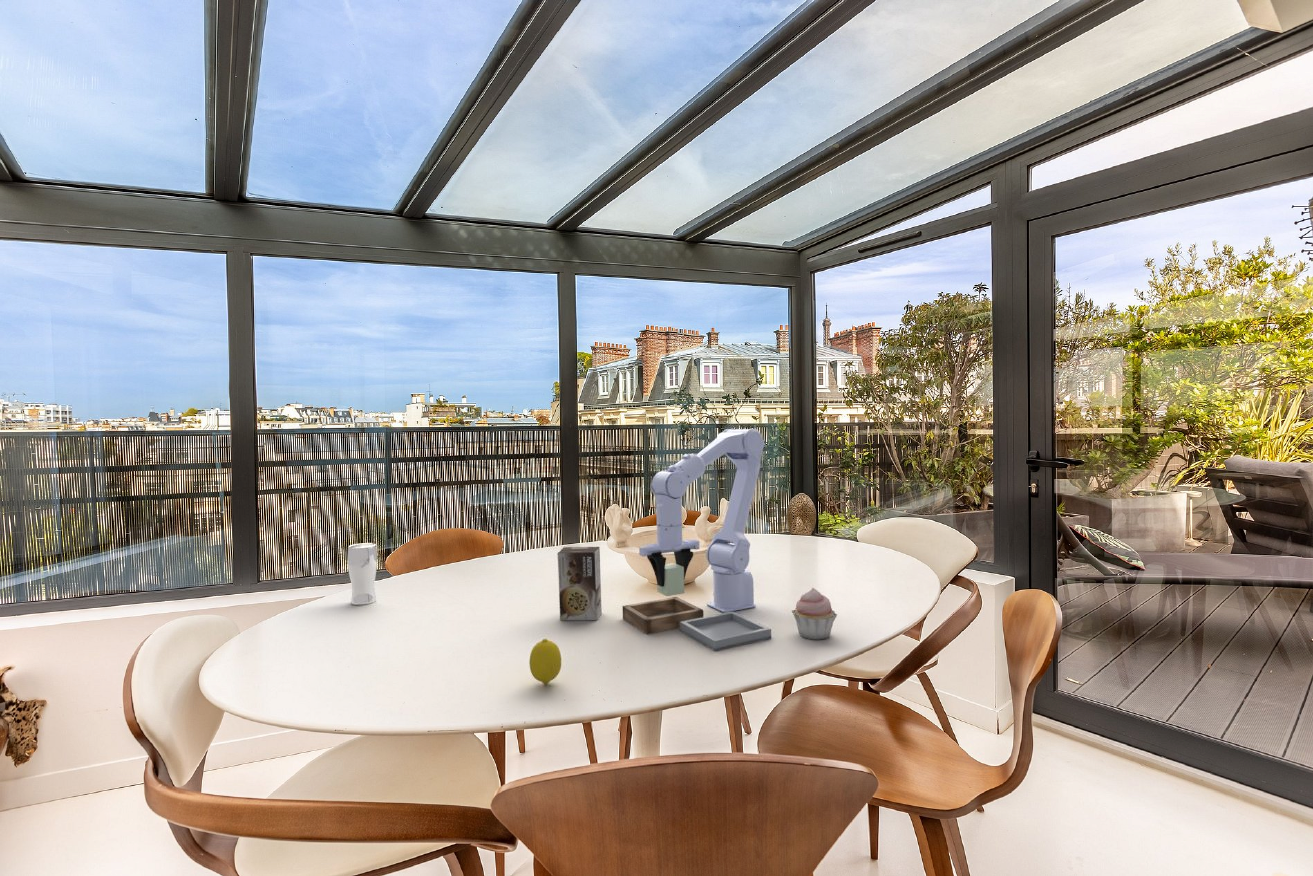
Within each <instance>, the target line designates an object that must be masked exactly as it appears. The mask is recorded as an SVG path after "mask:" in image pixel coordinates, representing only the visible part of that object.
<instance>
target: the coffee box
mask: <svg viewBox="0 0 1313 876" xmlns="http://www.w3.org/2000/svg"><path fill="white" fill-rule="evenodd" d="M600 551H601V550H600V546H566V547H565V546H563V548H561V549H560V551H558V552H557V555H556V556H557V569H558V570H557V571H558V592H559V593H558V595H559V597H558V598H559V601H558V602H559V621H597V620H598V619H599V618H600V616H601V614H602V613H603V612H602V584H601V583H602V582H601V557H600V556H601V555H600V554H601V553H600Z"/></svg>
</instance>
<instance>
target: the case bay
mask: <svg viewBox="0 0 1313 876" xmlns="http://www.w3.org/2000/svg"><path fill="white" fill-rule="evenodd" d="M673 612H674V613H673ZM667 613H668V614H667ZM659 614H664V615H659ZM655 615H657V616H655ZM648 616H651V617H648ZM652 616H653V617H652ZM701 617H704V609H702V608H701V607H699V606H696V605H695V604H692V603H690V602H688V601H685V600H684V599H682V598H679V597H677V596H674V597H673V596H672V597H668V598H667V597H666V598H661V599H656V600H655V599H654V600H650V601H644V602H639V603H638V602H637V603H632V604H627V605H622V619H623V620H624V621H626V622H628V623H629V624H631V625H632V626H633V627H635V628H636V629H638V630H640V631H641V632H643V633H644V634H646V635H649V634H654V633H659V632H663V631H664V632H665V631H669V630H674V629H680V622H681V621H686V620H691V619H696V618H701Z"/></svg>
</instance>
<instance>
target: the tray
mask: <svg viewBox="0 0 1313 876" xmlns="http://www.w3.org/2000/svg"><path fill="white" fill-rule="evenodd" d="M679 631H680V632H681V633H683V634H685V635H686V636H688V637H690V638H692V639H694V640H695V641H697V642H699V643H701V644H702V645H704V646H705V647H707V648H709V649H711V650H712V651H715V652H717V651H721V650H726V649H730V648H733V647H738V646H742V645H747V644H748V645H749V644H752V643H757V642H761V641H765V640H769V639H770V640H771V639H772V628H770V627H768V626H766V625H763V624H761V623H759V622H757V621H755V620H752V619H750V618H748V617H746V616H744V615H742V614H739V613H737V612H735V611H731V612H725V613H724V612H721V613H718V614H712V615H708V616H707V615H706V616H703V617H701V618H696V619H691V620H686V621H681V622H680V628H679Z"/></svg>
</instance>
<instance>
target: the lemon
mask: <svg viewBox="0 0 1313 876" xmlns="http://www.w3.org/2000/svg"><path fill="white" fill-rule="evenodd" d="M529 655H530V656H529V661H528V662H529V669H530V674H531V675H532V677H533V678H534V679H535V680H537V681H538V682H541V683H542V684H544V685H548V684H549V683H550V682H551V681H553V680H554V679H556V678H557V677H558V675H559V674H560V671H561V669H562V655H561V651H560V648H559V645H557V644H556V643H555V642H553V641H551V640H549V639H547V638H543V639H542V640H541V641H538V642H537V643H536V644H535V645H534V646H533V647H532V649H531V651H530V654H529Z"/></svg>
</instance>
